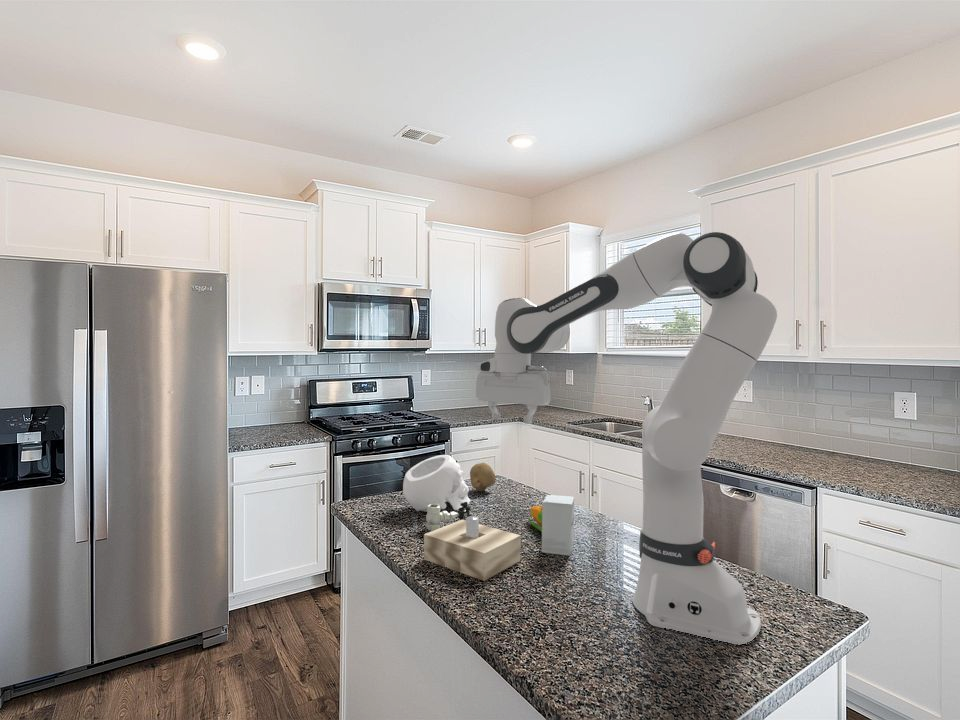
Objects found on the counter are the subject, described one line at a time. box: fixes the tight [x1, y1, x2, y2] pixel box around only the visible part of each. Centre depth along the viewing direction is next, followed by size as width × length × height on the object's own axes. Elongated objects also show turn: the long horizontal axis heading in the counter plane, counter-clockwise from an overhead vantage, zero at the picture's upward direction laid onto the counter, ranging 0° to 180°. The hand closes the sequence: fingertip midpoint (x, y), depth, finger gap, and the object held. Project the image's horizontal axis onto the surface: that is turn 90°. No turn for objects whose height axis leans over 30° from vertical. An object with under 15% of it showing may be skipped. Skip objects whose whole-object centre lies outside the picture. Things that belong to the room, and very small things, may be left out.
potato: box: [469, 462, 497, 492], centre depth 183 cm, size 9×9×10 cm
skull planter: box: [402, 454, 471, 513], centre depth 163 cm, size 14×20×19 cm
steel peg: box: [465, 515, 480, 540], centre depth 123 cm, size 3×3×10 cm
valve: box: [425, 502, 472, 532], centre depth 146 cm, size 7×7×12 cm
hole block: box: [423, 519, 522, 582], centre depth 123 cm, size 18×14×6 cm
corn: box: [527, 502, 542, 533], centre depth 143 cm, size 7×8×20 cm
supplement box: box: [541, 494, 575, 557], centre depth 130 cm, size 7×7×13 cm
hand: (511, 421), depth 128 cm, fingers open, 8 cm apart
